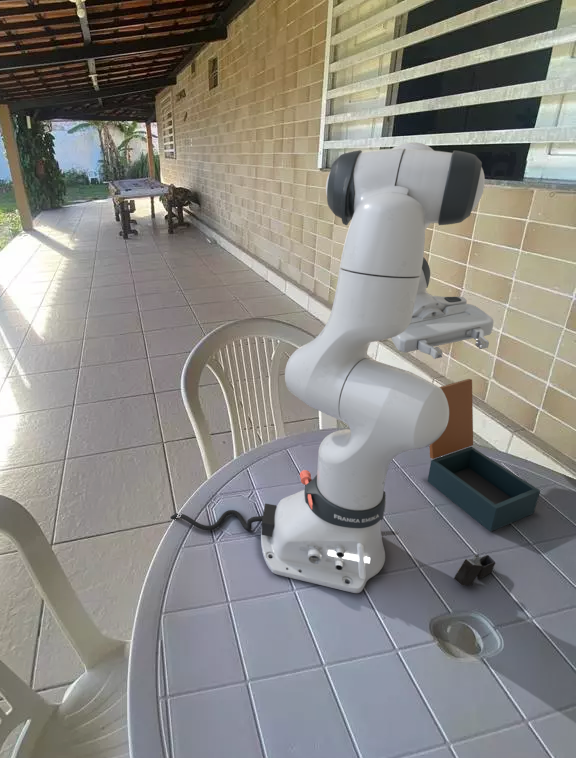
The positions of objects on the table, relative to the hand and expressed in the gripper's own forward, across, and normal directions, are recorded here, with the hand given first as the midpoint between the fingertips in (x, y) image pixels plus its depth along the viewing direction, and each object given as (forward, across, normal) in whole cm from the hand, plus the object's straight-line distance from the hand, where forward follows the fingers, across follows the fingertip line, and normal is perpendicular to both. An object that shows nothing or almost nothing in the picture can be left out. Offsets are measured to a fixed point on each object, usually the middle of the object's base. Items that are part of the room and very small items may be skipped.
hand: (461, 350), depth 86 cm
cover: (+4, -2, +15) cm, 16 cm away
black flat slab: (+14, -2, +28) cm, 31 cm away
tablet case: (+14, -2, +28) cm, 31 cm away
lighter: (+31, -15, +22) cm, 41 cm away
